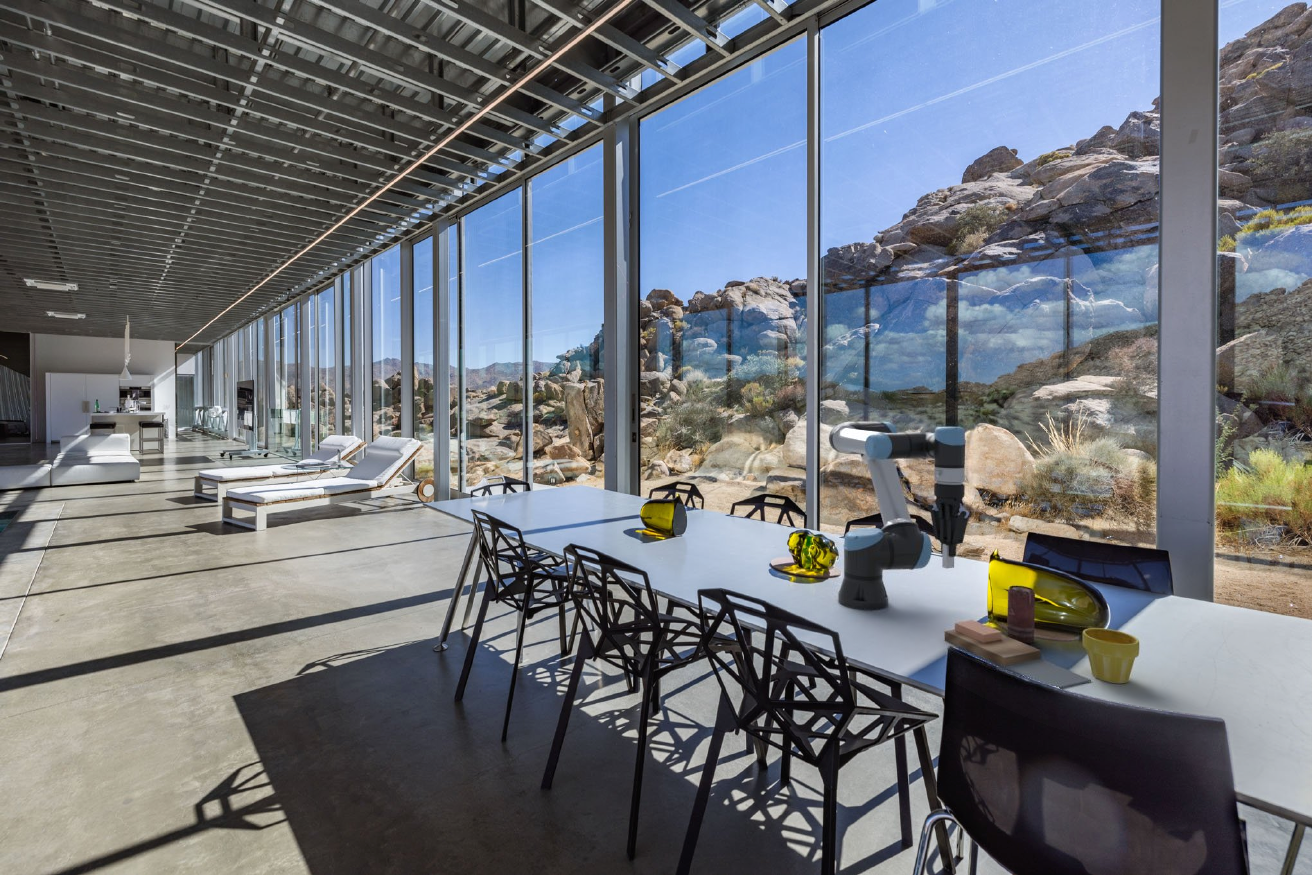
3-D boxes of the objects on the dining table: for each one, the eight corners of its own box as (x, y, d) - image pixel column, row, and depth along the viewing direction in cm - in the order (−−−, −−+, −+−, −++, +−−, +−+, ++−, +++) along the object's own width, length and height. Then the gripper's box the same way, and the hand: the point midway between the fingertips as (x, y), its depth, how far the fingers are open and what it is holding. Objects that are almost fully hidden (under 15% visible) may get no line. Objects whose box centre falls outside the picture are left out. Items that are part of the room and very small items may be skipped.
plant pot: (1070, 668, 140) (1071, 627, 140) (1111, 666, 141) (1112, 626, 140) (1106, 688, 130) (1108, 645, 129) (1150, 686, 130) (1152, 643, 130)
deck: (944, 640, 158) (944, 630, 157) (978, 634, 162) (978, 625, 161) (1004, 667, 141) (1004, 657, 141) (1040, 660, 145) (1041, 650, 144)
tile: (954, 630, 158) (954, 622, 158) (972, 627, 160) (972, 619, 160) (983, 642, 150) (983, 634, 149) (1001, 639, 151) (1001, 631, 151)
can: (1022, 645, 153) (1023, 592, 153) (1001, 636, 160) (1002, 585, 159) (1040, 643, 155) (1041, 590, 154) (1019, 634, 161) (1020, 583, 160)
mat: (1004, 667, 141) (1004, 666, 141) (1040, 660, 145) (1040, 658, 145) (1052, 690, 129) (1052, 688, 129) (1091, 681, 133) (1091, 679, 133)
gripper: (920, 480, 167) (919, 562, 168) (958, 486, 155) (956, 574, 156) (941, 479, 170) (940, 560, 171) (979, 484, 157) (978, 571, 158)
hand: (948, 567), depth 163 cm, fingers closed
